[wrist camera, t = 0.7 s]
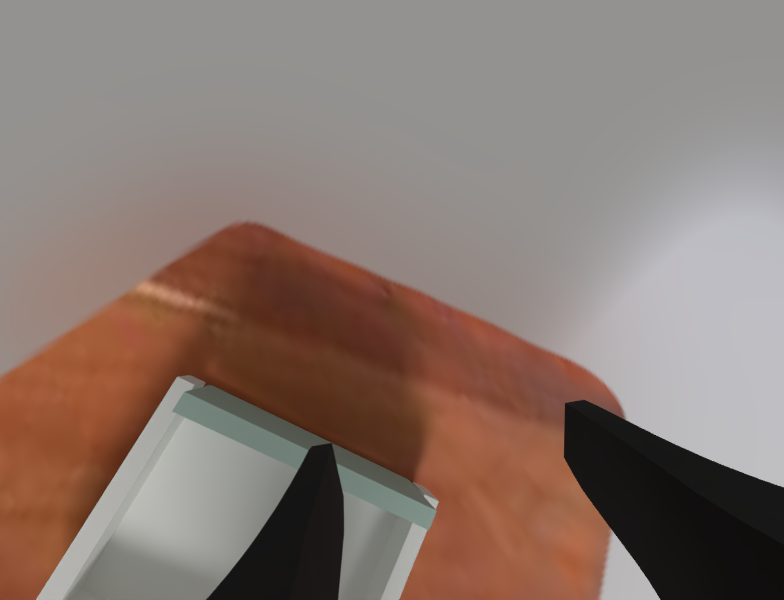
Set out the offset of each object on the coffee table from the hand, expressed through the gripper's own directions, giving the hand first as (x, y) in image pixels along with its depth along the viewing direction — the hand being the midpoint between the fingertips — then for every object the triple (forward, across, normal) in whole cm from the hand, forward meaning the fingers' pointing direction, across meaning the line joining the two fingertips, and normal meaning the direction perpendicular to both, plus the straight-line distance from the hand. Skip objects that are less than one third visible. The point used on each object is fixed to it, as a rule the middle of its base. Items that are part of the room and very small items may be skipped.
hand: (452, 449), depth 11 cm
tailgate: (+15, +8, +10) cm, 20 cm away
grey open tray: (+13, +13, +16) cm, 24 cm away
